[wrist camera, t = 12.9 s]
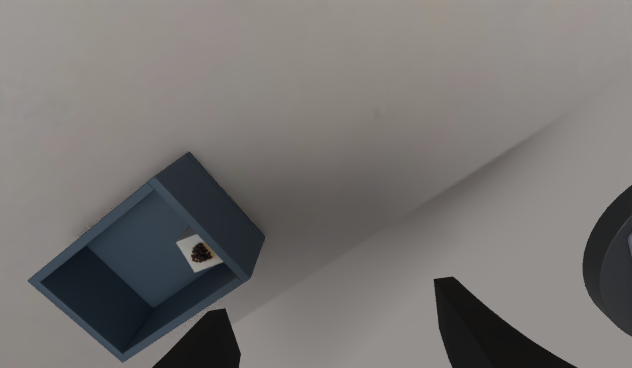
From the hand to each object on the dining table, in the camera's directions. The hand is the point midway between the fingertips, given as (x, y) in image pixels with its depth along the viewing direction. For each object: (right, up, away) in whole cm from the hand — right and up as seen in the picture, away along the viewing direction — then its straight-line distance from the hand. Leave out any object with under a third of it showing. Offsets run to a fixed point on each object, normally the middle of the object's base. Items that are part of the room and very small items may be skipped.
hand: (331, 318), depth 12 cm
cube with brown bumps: (-7, +2, +10) cm, 13 cm away
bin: (-10, +1, +11) cm, 15 cm away
